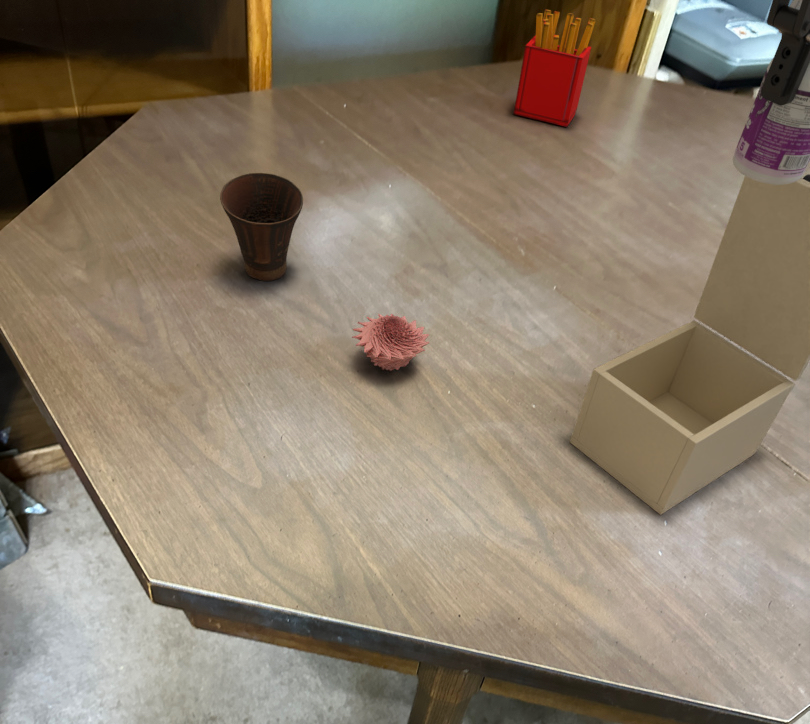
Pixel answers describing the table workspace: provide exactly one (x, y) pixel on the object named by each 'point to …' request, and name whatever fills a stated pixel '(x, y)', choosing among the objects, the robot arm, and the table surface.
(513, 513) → the table surface
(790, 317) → the box lid
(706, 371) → the tan wooden box
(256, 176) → the cup
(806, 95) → the pill bottle
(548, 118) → the french fries container
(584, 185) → the table surface
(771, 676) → the table surface
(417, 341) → the flower
